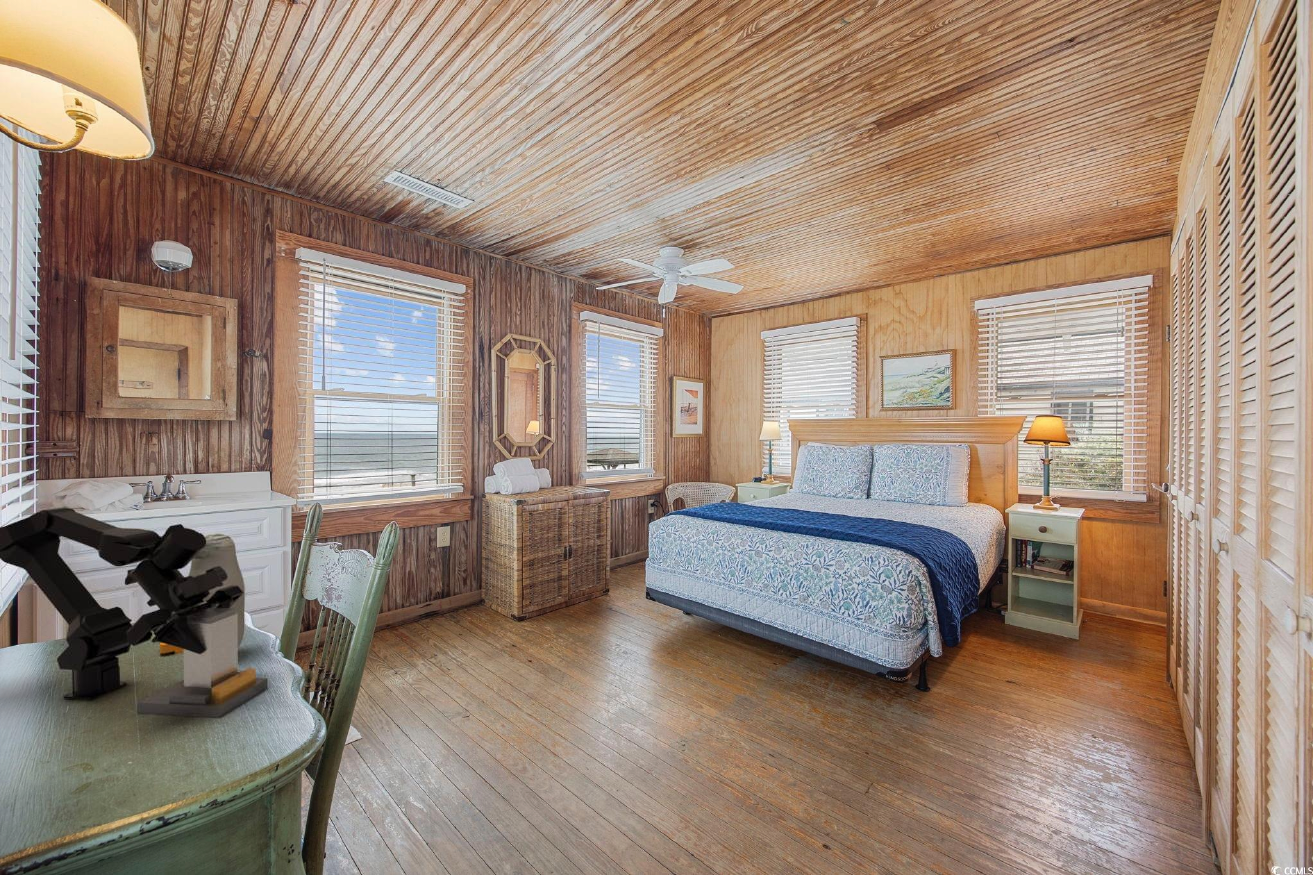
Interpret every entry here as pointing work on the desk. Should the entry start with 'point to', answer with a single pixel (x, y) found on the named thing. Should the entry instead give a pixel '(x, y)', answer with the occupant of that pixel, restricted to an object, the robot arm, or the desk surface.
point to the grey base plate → (204, 697)
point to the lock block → (212, 648)
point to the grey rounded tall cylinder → (223, 555)
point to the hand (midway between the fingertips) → (217, 645)
